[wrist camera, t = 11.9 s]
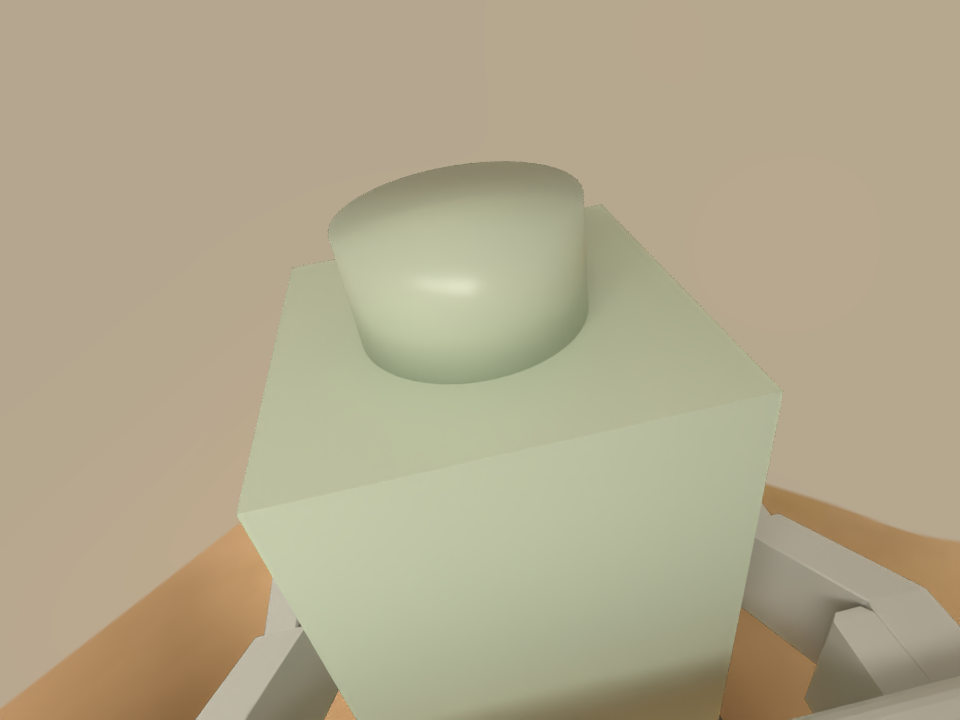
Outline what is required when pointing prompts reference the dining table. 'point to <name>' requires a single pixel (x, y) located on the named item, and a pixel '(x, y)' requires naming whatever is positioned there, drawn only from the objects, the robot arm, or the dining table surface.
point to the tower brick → (507, 459)
